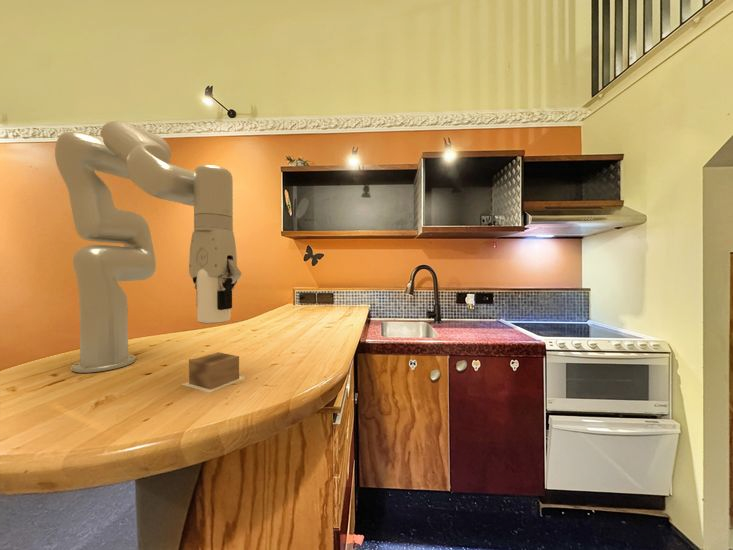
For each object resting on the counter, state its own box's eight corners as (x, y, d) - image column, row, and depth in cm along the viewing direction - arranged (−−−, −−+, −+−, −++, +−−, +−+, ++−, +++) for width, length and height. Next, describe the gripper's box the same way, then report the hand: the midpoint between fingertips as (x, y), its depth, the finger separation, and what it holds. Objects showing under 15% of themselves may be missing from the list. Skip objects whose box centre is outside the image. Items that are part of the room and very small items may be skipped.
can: (216, 324, 61) (217, 266, 61) (189, 323, 62) (189, 266, 62) (236, 319, 67) (236, 266, 67) (211, 318, 69) (211, 266, 68)
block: (189, 383, 64) (188, 360, 63) (218, 373, 70) (218, 352, 70) (210, 389, 60) (210, 365, 60) (239, 378, 67) (239, 356, 67)
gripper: (172, 225, 65) (172, 307, 65) (226, 220, 57) (226, 313, 58) (204, 229, 72) (204, 304, 72) (256, 225, 64) (256, 308, 64)
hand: (214, 307), depth 65 cm, fingers closed on can, 6 cm apart
